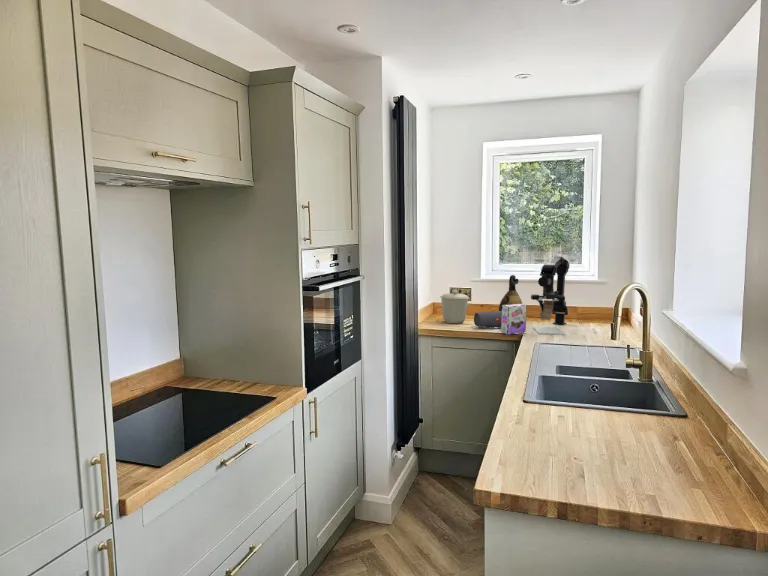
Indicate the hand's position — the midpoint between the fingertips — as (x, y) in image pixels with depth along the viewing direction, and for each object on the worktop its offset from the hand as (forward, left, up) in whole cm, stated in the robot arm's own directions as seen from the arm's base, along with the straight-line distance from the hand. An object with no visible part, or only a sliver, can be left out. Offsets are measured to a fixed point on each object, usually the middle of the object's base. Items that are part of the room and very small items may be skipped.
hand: (547, 311), depth 312 cm
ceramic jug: (-14, -30, -11) cm, 35 cm away
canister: (+16, -54, -11) cm, 58 cm away
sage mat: (+2, +2, -11) cm, 11 cm away
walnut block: (-5, -3, -4) cm, 7 cm away
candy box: (+22, -10, -11) cm, 27 cm away
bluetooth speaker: (+14, -27, -11) cm, 33 cm away
